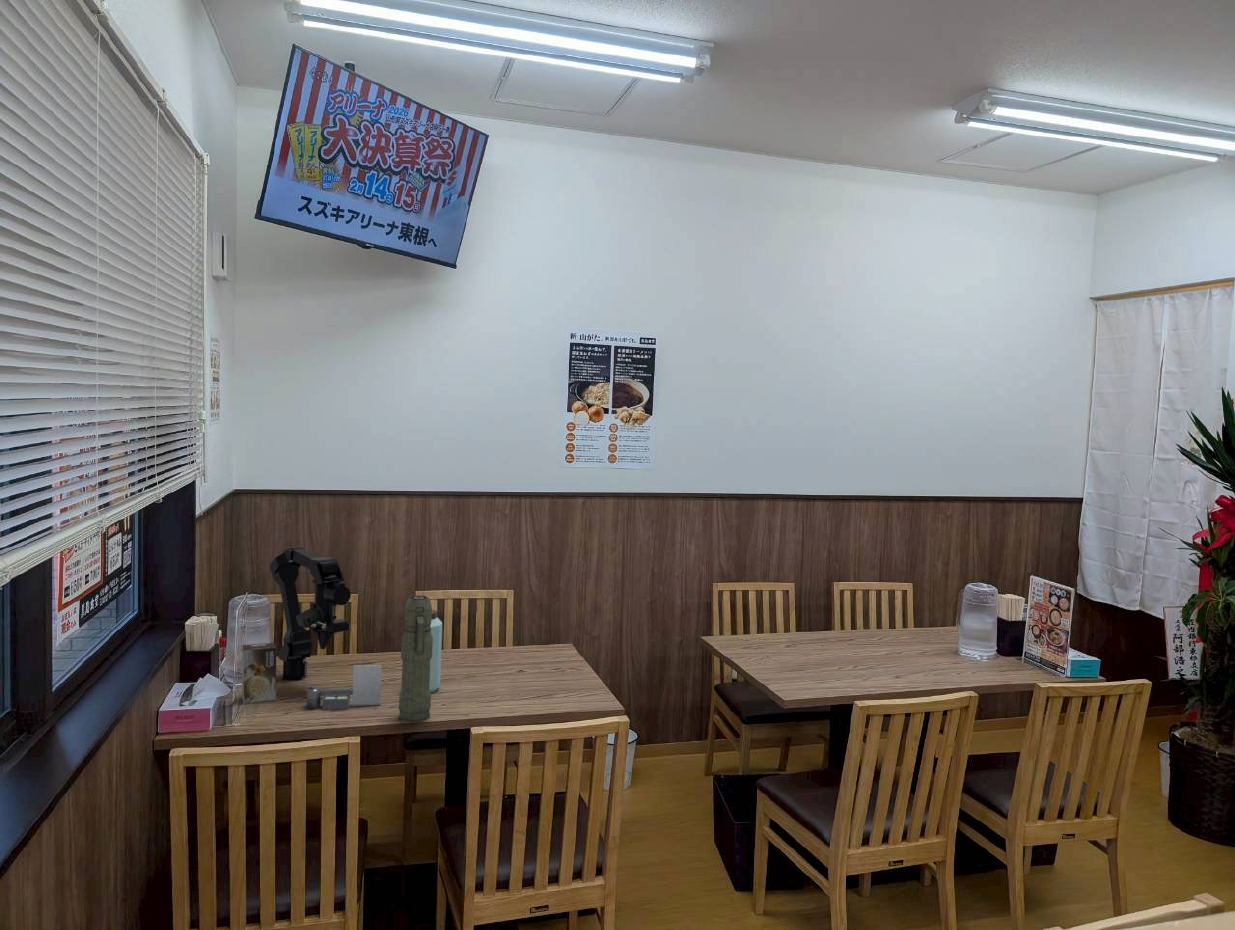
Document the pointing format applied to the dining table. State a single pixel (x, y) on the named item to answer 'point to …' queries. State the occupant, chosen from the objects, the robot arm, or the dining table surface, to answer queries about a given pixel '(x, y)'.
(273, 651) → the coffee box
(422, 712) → the thermos
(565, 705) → the dining table surface
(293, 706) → the dining table surface
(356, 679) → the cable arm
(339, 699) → the block
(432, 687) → the water bottle
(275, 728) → the dining table surface
